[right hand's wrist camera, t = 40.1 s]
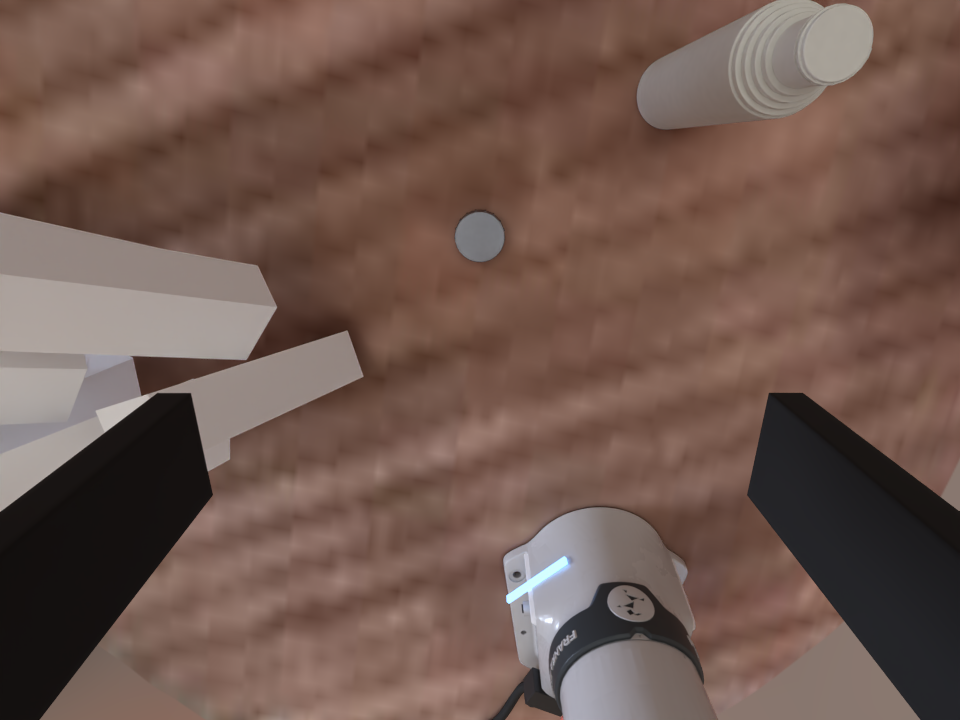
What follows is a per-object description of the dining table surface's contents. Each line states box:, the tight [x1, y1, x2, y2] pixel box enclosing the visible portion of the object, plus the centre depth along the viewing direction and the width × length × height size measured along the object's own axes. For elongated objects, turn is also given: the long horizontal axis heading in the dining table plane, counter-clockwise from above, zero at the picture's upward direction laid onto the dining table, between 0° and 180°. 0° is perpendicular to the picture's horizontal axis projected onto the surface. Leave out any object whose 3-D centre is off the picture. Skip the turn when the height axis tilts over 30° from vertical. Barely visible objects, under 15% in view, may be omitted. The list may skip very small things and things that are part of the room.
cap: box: [455, 210, 505, 262], centre depth 43 cm, size 4×4×2 cm
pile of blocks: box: [0, 213, 364, 512], centre depth 36 cm, size 35×30×35 cm
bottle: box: [637, 0, 873, 130], centre depth 31 cm, size 5×5×20 cm
